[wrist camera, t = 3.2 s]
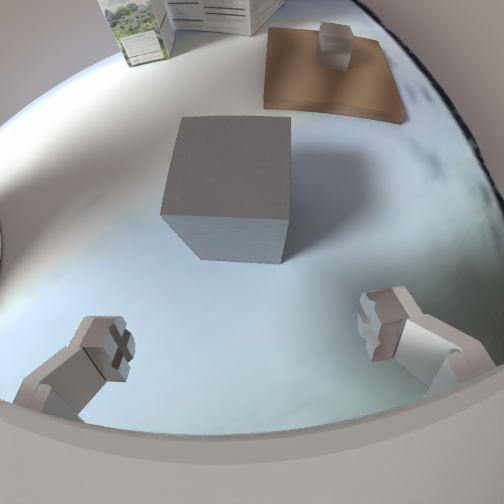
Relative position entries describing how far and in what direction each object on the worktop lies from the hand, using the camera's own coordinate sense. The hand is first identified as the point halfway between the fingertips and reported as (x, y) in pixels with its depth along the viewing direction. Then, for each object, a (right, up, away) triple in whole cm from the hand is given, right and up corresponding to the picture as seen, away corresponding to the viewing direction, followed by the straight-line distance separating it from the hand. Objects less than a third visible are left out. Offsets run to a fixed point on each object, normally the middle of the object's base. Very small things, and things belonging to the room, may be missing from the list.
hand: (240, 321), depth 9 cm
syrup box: (-13, +28, +20) cm, 37 cm away
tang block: (+9, +22, +17) cm, 30 cm away
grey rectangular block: (0, +4, +13) cm, 14 cm away
